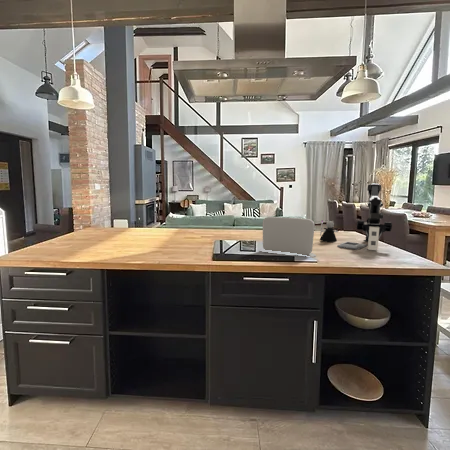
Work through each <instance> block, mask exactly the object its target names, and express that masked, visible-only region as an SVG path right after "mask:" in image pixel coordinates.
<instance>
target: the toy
mask: <svg viewBox="0 0 450 450" xmlns="http://www.w3.org/2000/svg"><path fill="white" fill-rule="evenodd" d="M320 223H321V225H320V232H319V233H320V234H319V236H320V239H319V241H321V242H324V243H334V242H335V243H336V242H337V241H338V239H337V236H336V234H335V233H338V232H339V231H338V227H335V222H334V220H332V221H331V220H327V221H326V223H325V224H326V225H325V226H326V227H324V228H323V224H324V221H323V220H321V221H320ZM334 227H335V228H334ZM323 229H324V230H323Z"/></svg>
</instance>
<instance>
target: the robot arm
mask: <svg viewBox="0 0 450 450" xmlns="http://www.w3.org/2000/svg"><path fill="white" fill-rule="evenodd" d="M381 191H382V184H379V183H369V184H367V189H366V192H367V195H368V196H369V201H367V208H368V209H369V210H368V217H367V219H366V221H365V220H357V221H356V230H360V231H362V232H364V233H365V239H363V242H368V239H369V226H374V227H379V238H380V237H381V236H382V234H383V233H385V232H391V231H392V228H393V223H392V221H384V222H383V224H382V223H381V222H380V221H381V220H383V219H384V213H383V212H380V210H381V208H382V206H383V204H384V203H382V201H381V198H380V197H379V195H380V192H381Z"/></svg>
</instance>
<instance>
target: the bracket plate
mask: <svg viewBox="0 0 450 450" xmlns="http://www.w3.org/2000/svg"><path fill="white" fill-rule="evenodd" d="M365 247H368V244H365V243H361V242H360V243H359V242H352V241H351V242H350V241H345V242H341V243H340V244H338V245H337V248H342V249H349V250H356V251H357V250H361V249H363V248H365Z"/></svg>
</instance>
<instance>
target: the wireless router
mask: <svg viewBox="0 0 450 450" xmlns="http://www.w3.org/2000/svg"><path fill="white" fill-rule="evenodd" d="M314 235H315V222H314V220H312V219H310V218H301V217H300V218H299V217H290V216H289V217H286V216H267V217H265V218H264V219H262V249H265V250H272V251H281V252H290V253H297V254H302V255H307V256H310V257H312V258H316V257H317V255H316V253H312V251H313V247H314Z"/></svg>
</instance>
